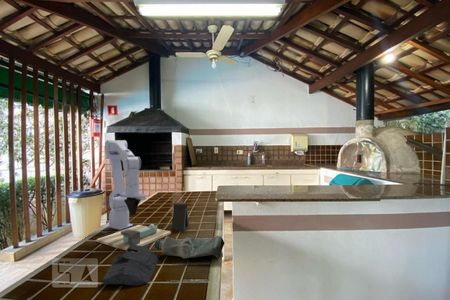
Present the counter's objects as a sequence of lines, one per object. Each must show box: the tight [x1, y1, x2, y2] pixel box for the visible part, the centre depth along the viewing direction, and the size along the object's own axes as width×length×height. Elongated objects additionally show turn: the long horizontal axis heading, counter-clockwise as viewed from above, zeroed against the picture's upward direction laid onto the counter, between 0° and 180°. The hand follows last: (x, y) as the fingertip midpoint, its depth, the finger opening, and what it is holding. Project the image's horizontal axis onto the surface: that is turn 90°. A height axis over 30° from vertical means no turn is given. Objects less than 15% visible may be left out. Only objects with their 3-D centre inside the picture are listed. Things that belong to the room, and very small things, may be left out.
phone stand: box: [171, 202, 190, 232], centre depth 120 cm, size 9×6×12 cm, turn 173°
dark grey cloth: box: [102, 244, 161, 287], centre depth 80 cm, size 15×22×5 cm
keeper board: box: [96, 224, 172, 252], centre depth 107 cm, size 21×22×6 cm
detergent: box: [154, 235, 225, 260], centre depth 89 cm, size 13×7×25 cm
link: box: [123, 223, 158, 243], centre depth 105 cm, size 16×4×3 cm, turn 148°
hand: (132, 214), depth 110 cm, fingers closed
